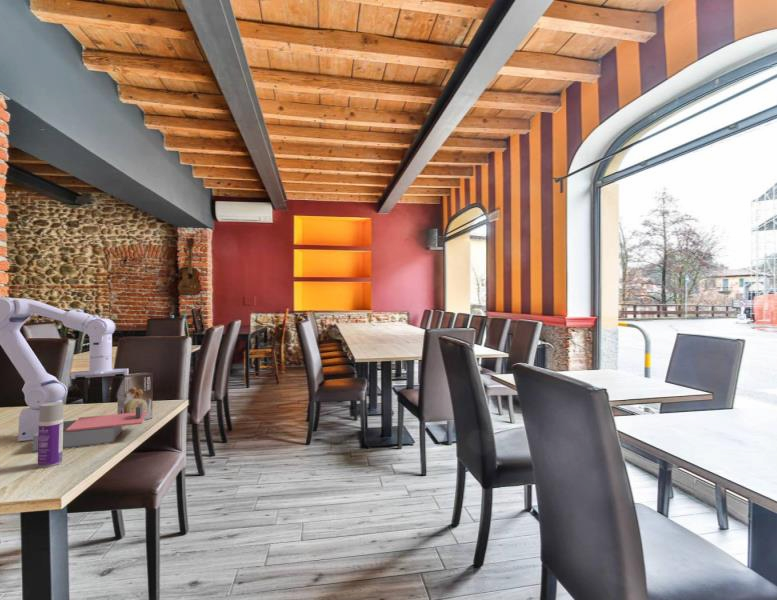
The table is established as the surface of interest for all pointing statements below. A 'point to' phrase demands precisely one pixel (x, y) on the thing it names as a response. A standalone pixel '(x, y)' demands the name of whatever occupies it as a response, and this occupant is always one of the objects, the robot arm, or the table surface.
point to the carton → (84, 436)
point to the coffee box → (136, 393)
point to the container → (50, 434)
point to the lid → (109, 420)
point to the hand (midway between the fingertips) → (100, 399)
